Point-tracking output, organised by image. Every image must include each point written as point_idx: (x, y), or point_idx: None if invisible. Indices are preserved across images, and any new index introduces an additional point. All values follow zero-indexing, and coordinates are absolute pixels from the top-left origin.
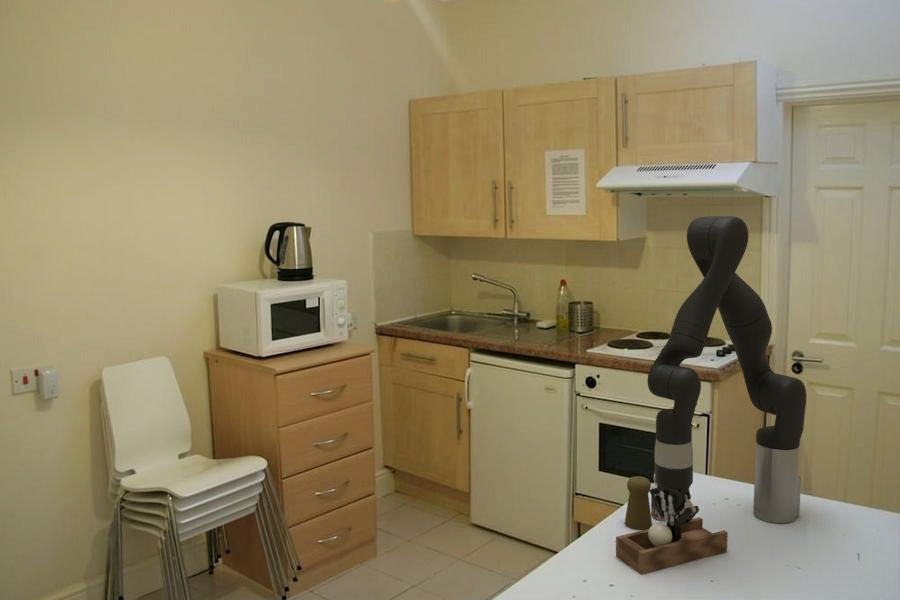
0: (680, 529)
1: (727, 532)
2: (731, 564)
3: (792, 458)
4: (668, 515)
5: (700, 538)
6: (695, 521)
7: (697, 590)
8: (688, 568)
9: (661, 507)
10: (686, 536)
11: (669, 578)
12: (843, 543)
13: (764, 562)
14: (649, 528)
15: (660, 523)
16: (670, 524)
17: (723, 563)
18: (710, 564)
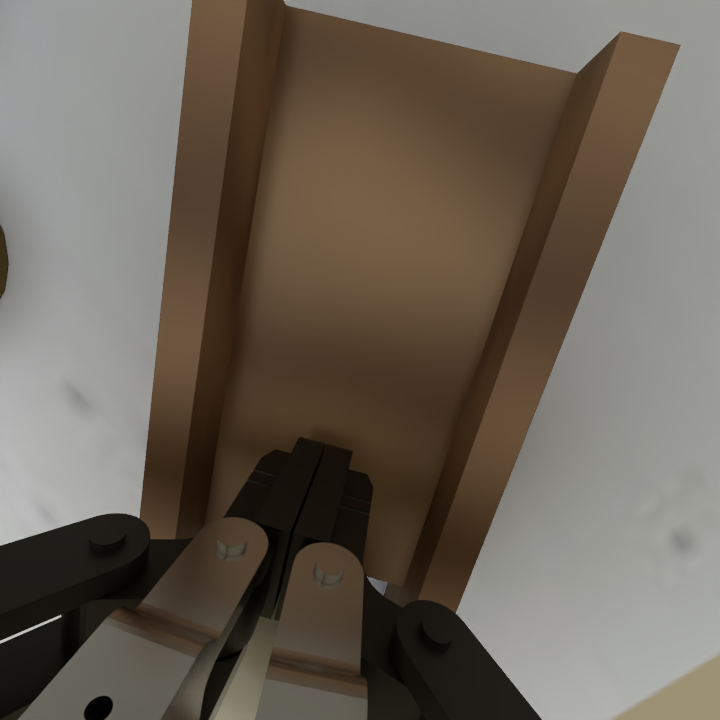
0: (364, 542)
1: (676, 50)
2: (696, 273)
3: None
4: (216, 713)
5: (526, 424)
6: (241, 81)
7: (667, 664)
8: (505, 510)
9: (28, 704)
10: (314, 298)
11: (493, 651)
12: None
13: None
14: (2, 236)
15: (230, 710)
16: (277, 612)
17: (643, 302)
18: (580, 378)
